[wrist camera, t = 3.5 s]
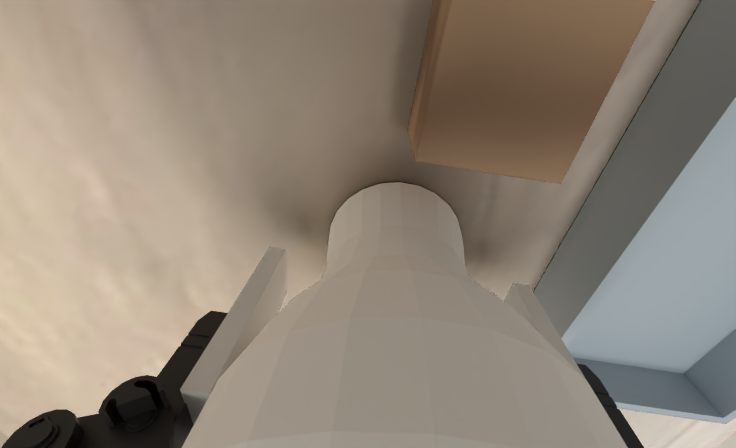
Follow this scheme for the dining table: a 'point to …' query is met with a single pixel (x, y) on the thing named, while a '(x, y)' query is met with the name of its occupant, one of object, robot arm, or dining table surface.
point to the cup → (400, 351)
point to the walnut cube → (517, 81)
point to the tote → (662, 241)
